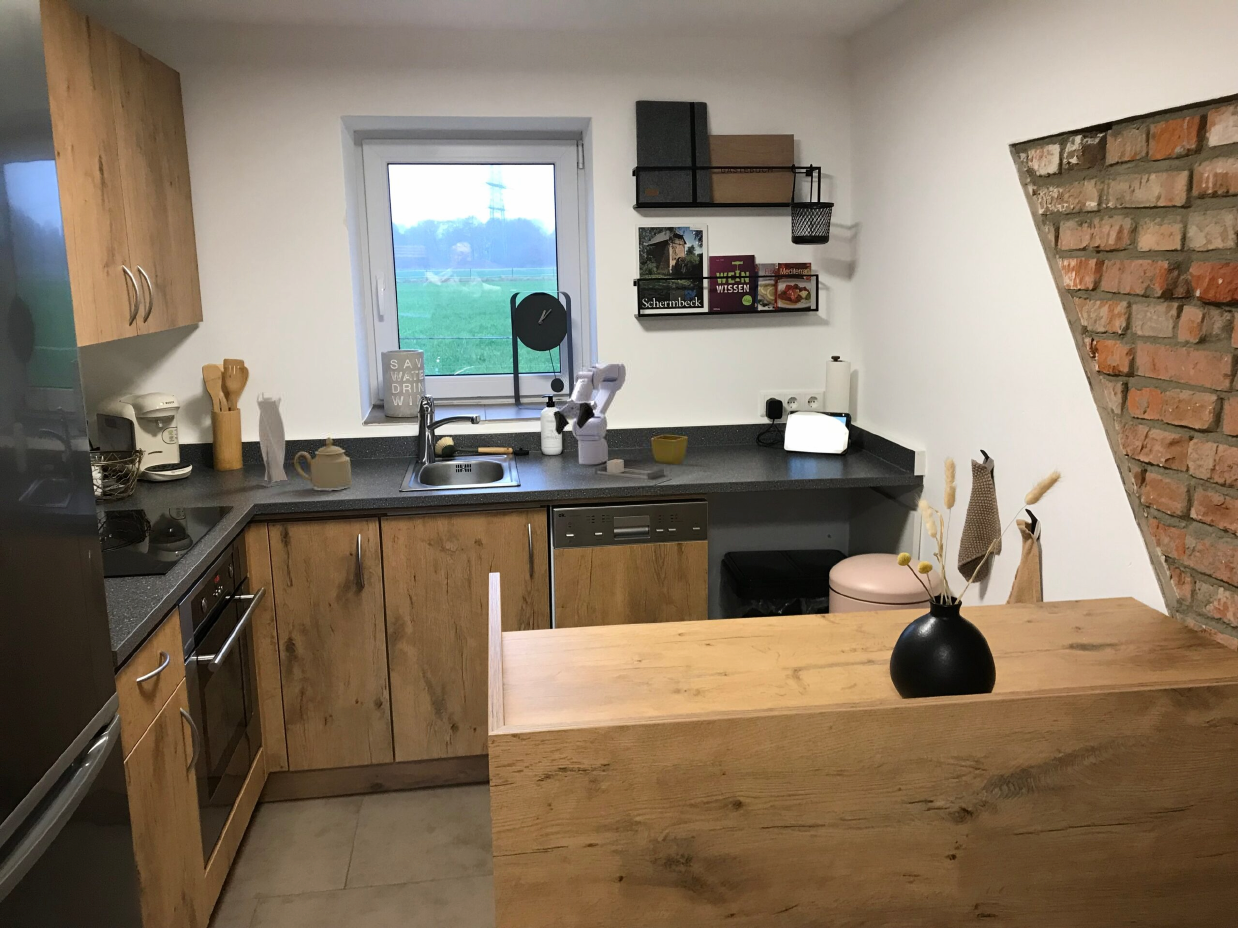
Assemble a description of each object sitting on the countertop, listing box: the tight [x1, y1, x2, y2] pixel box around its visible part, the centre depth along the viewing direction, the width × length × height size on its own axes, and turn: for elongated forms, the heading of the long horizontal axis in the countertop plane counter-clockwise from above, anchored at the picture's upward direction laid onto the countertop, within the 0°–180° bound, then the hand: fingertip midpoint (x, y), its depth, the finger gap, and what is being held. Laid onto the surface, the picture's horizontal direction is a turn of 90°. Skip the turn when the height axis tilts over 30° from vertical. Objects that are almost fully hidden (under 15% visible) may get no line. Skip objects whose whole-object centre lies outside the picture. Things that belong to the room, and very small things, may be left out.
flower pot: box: [651, 434, 689, 466], centre depth 306 cm, size 9×9×9 cm
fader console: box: [594, 463, 672, 486], centre depth 287 cm, size 9×24×3 cm, turn 55°
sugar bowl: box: [294, 436, 352, 488], centre depth 282 cm, size 15×11×15 cm
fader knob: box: [606, 458, 625, 474], centre depth 289 cm, size 4×3×4 cm
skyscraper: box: [256, 391, 288, 484], centre depth 290 cm, size 8×8×28 cm
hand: (568, 429), depth 286 cm, fingers open, 7 cm apart
